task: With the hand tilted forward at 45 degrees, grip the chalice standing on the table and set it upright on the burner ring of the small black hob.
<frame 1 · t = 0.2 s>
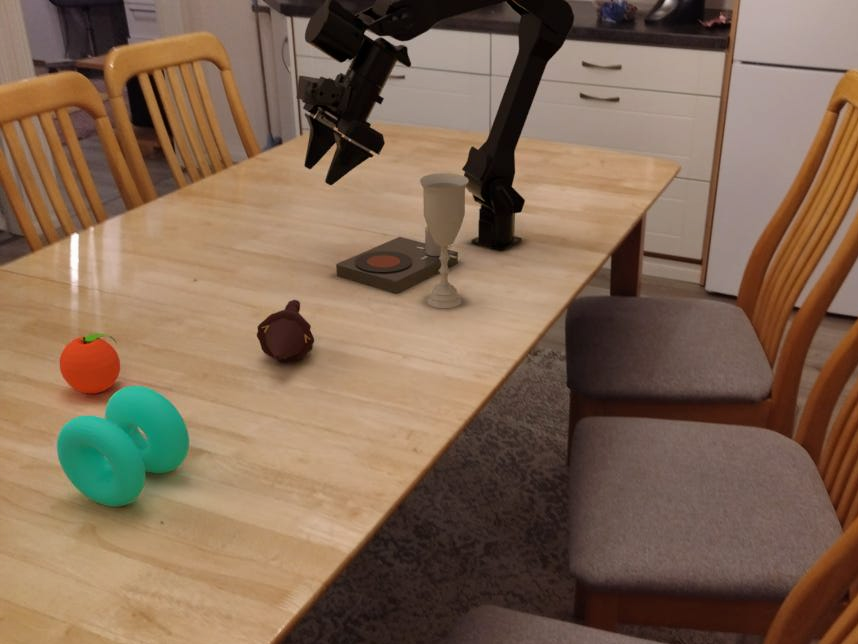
hand: (317, 175, 151), 15 cm above the table, tool tilted 35°, fingers open, 9 cm apart
burner: (384, 274, 158), resting on hob
hob: (398, 269, 159), on the table
hob knob: (436, 239, 159), point 4 cm above the table, hinge at 0.0°
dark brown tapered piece: (288, 360, 132), on the table
clementine: (99, 389, 124), on the table
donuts: (133, 487, 106), on the table
chalice: (444, 302, 149), on the table
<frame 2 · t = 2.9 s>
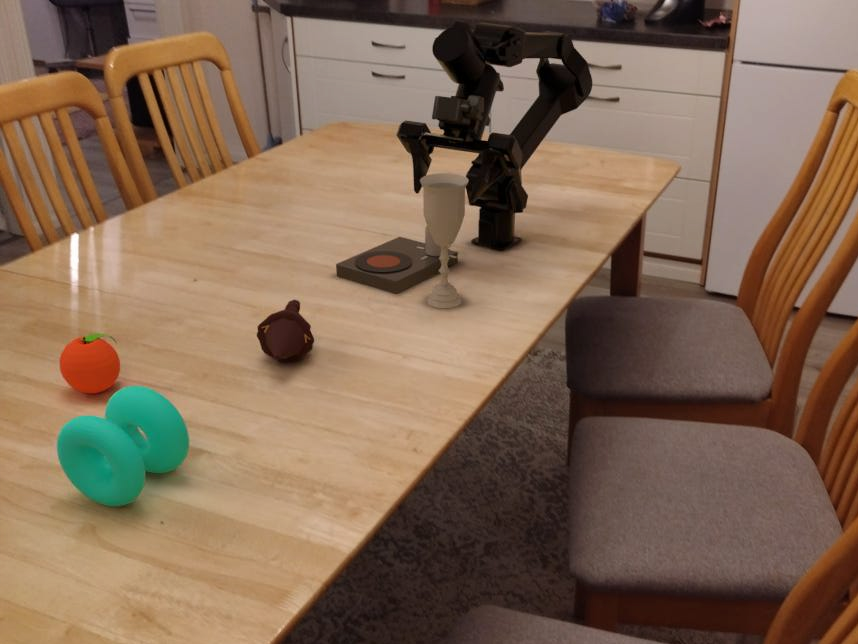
hand: (443, 196, 150), 13 cm above the table, tool tilted 40°, fingers open, 9 cm apart
nothing on the table moved.
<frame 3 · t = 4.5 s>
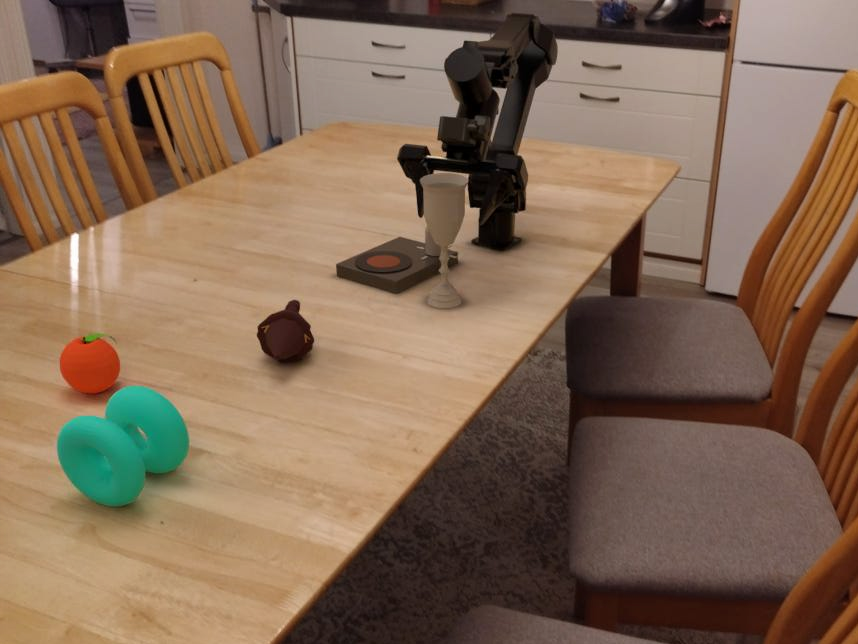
hand: (449, 220, 145), 12 cm above the table, tool tilted 45°, fingers open, 9 cm apart
nothing on the table moved.
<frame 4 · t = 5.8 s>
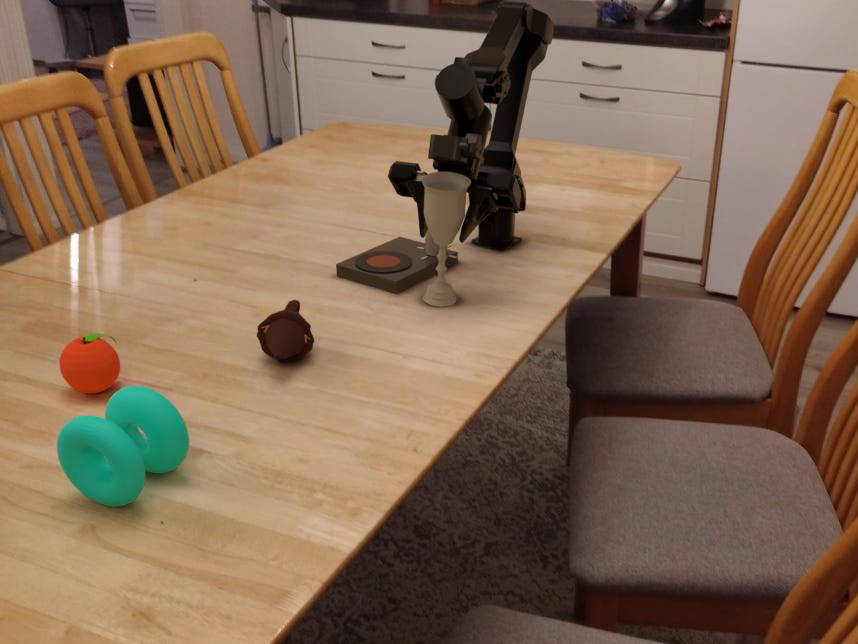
hand: (441, 238, 142), 10 cm above the table, tool tilted 45°, fingers closed on chalice, 5 cm apart
chalice: (439, 299, 149), on the table, touching gripper
everything else where it was.
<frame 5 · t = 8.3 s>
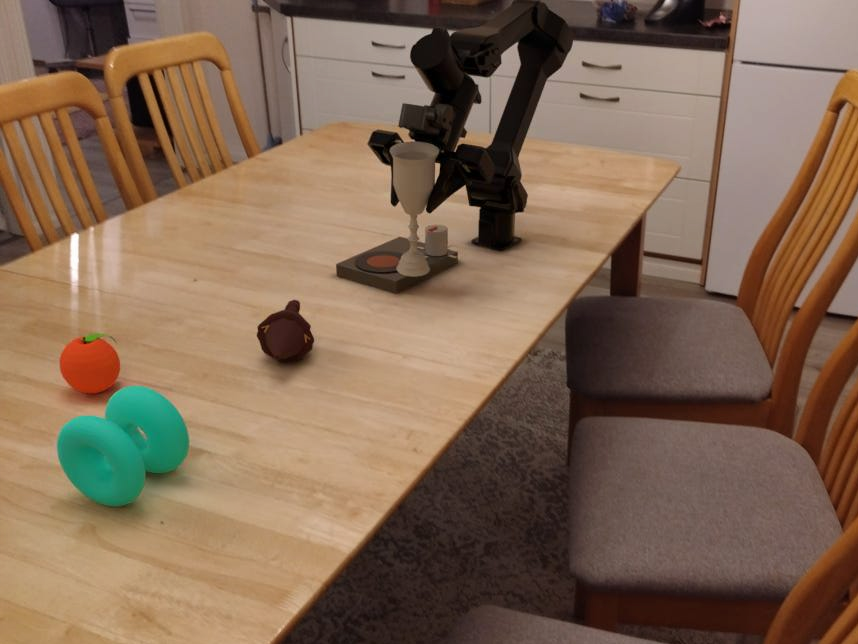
hand: (410, 208, 144), 13 cm above the table, tool tilted 45°, fingers closed on chalice, 5 cm apart
chalice: (413, 269, 151), point 3 cm above the table, touching gripper
everything else where it was.
when the fingers open (12 cm above the table, at t = 10.6 s): chalice stays where it is, resting on burner.
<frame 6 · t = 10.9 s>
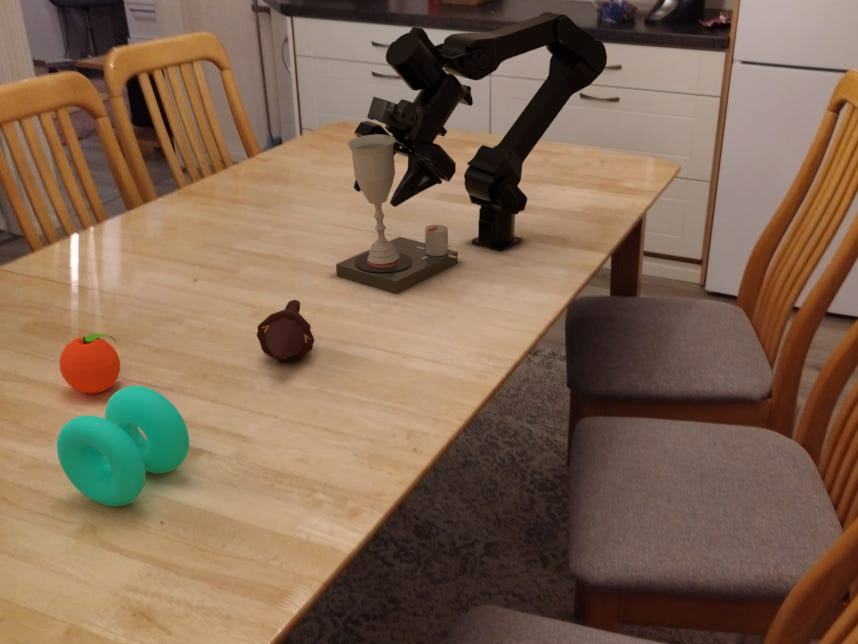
hand: (373, 197, 150), 13 cm above the table, tool tilted 45°, fingers open, 9 cm apart
chalice: (383, 258, 157), point 2 cm above the table, touching burner, gripper
everything else where it was.
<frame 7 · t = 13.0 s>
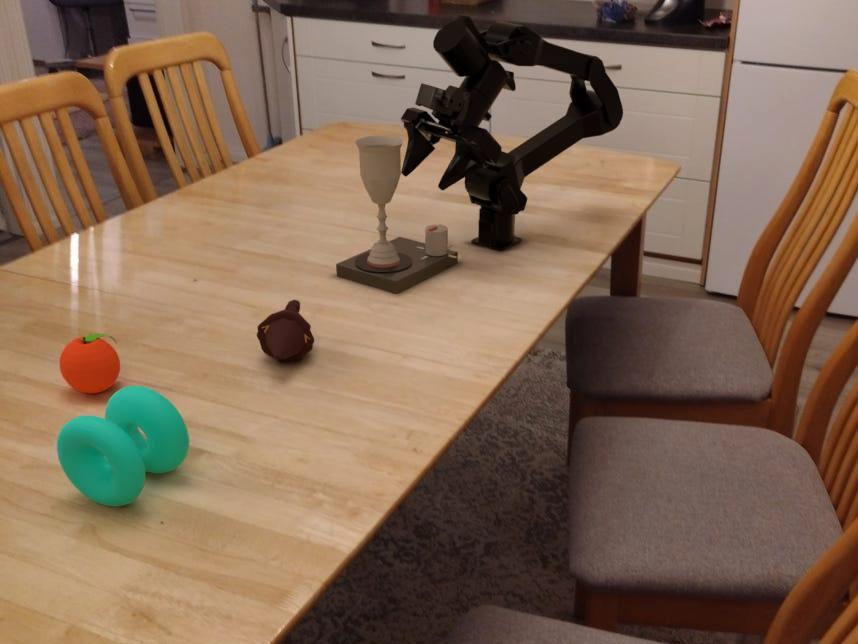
hand: (421, 181, 155), 13 cm above the table, tool tilted 45°, fingers open, 9 cm apart
chalice: (383, 259, 157), point 2 cm above the table, touching burner
everything else where it was.
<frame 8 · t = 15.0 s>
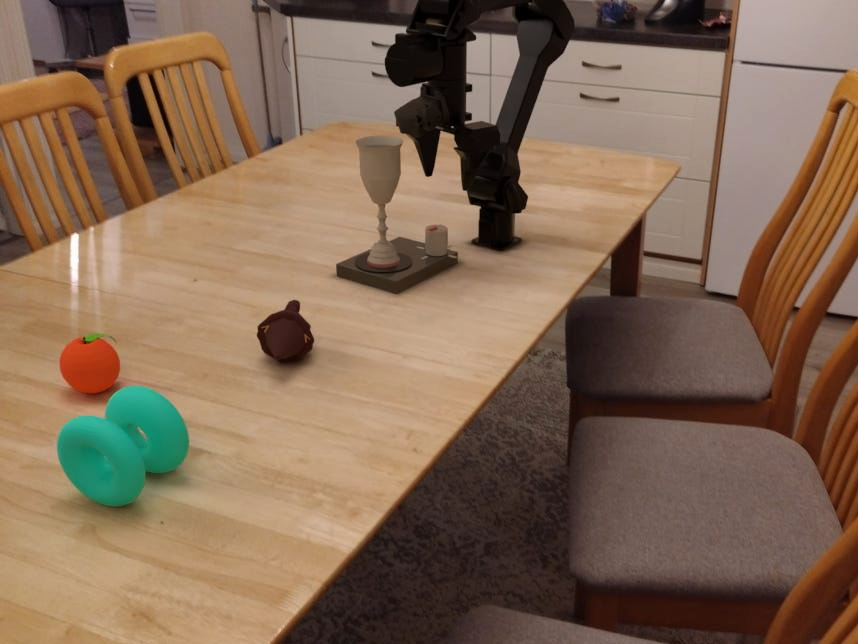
hand: (447, 183, 155), 13 cm above the table, tool pointing down, fingers open, 9 cm apart
nothing on the table moved.
at the end: chalice 1.1 cm off-centre on the burner, point 2.0 cm above the burner's base; chalice tilted 0°; the gripper is holding nothing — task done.
